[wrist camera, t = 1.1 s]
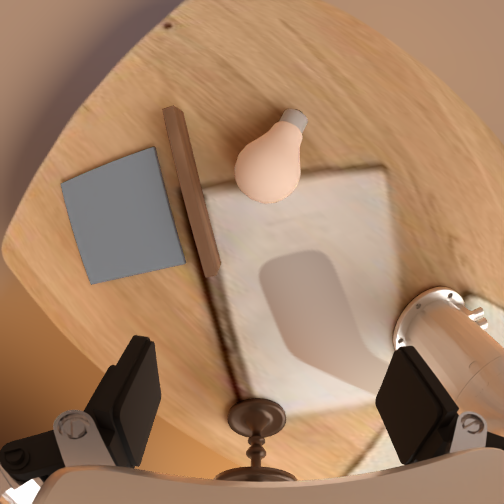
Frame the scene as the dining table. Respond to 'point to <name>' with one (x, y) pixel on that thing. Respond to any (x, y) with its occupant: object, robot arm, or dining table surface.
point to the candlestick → (256, 439)
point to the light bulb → (272, 160)
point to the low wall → (192, 190)
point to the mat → (123, 218)
